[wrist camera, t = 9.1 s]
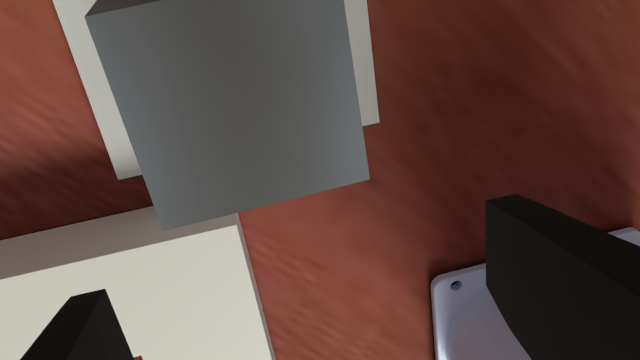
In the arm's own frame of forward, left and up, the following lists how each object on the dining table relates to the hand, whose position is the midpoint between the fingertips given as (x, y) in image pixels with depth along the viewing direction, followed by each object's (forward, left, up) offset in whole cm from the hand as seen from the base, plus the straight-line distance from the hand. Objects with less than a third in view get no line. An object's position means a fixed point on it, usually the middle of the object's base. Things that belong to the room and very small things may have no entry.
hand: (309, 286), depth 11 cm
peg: (+1, -3, -9) cm, 10 cm away
